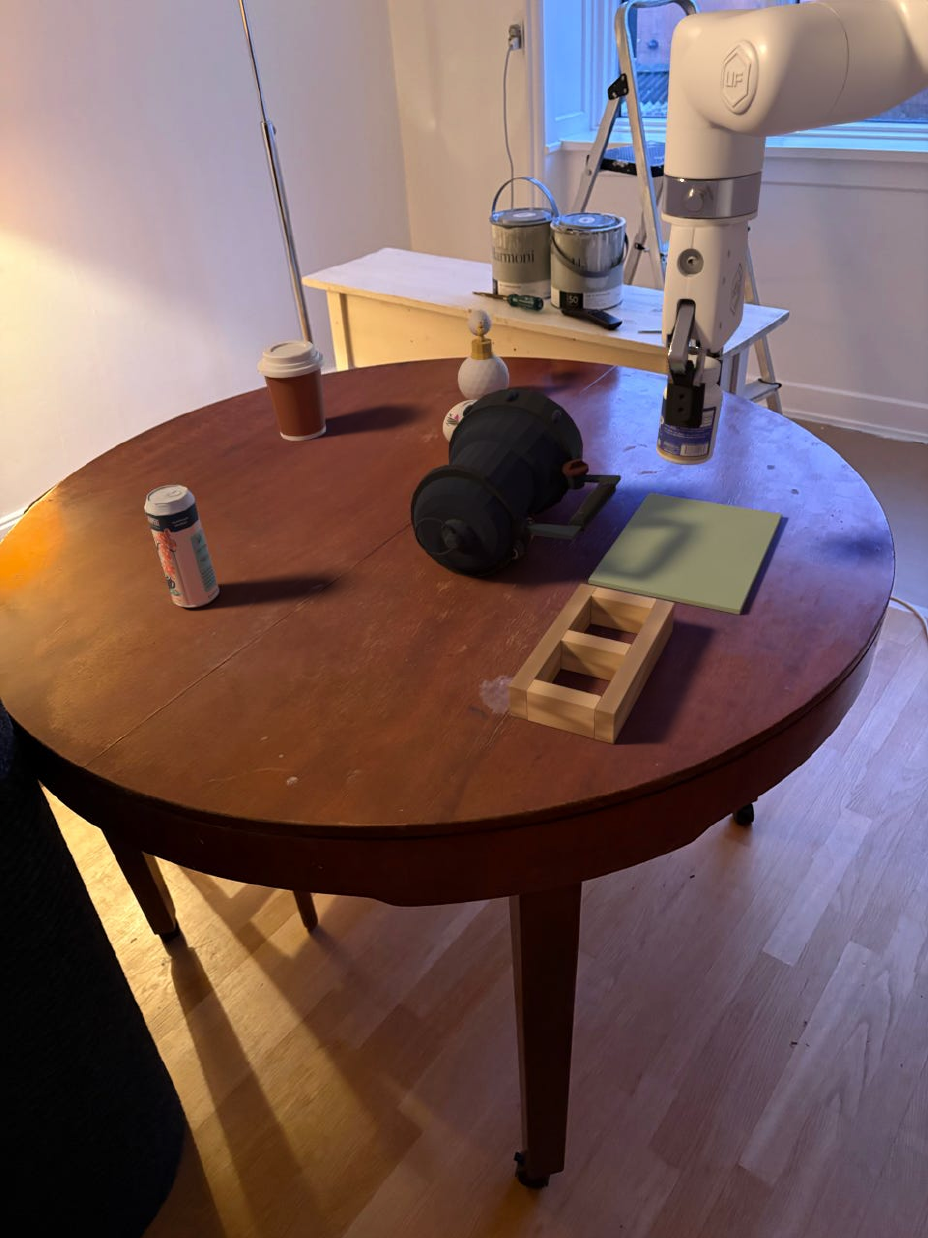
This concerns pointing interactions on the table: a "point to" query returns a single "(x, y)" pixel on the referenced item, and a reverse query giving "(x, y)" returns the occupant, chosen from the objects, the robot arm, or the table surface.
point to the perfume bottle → (481, 362)
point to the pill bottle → (692, 442)
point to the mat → (689, 552)
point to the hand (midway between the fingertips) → (692, 411)
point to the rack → (592, 662)
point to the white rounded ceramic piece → (454, 418)
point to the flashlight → (504, 483)
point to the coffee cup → (295, 388)
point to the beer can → (181, 545)
